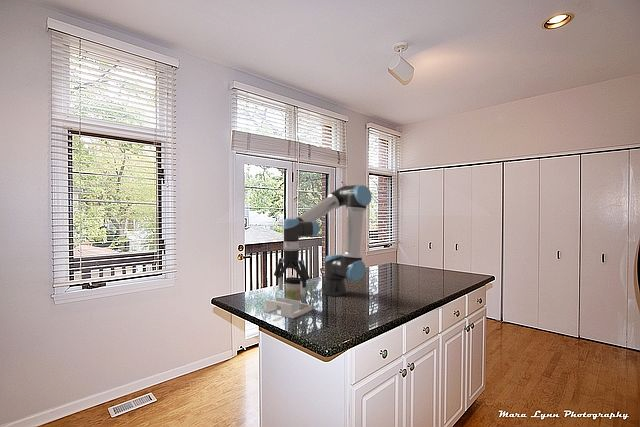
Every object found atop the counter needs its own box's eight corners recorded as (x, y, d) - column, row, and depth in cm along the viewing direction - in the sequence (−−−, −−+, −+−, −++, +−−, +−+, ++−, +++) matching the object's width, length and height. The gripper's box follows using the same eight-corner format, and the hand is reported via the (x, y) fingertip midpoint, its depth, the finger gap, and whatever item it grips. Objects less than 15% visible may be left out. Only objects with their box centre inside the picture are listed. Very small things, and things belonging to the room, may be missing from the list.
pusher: (277, 307, 171) (277, 296, 171) (299, 312, 164) (300, 301, 164) (256, 315, 159) (256, 303, 158) (280, 321, 151) (280, 308, 151)
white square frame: (285, 303, 180) (285, 292, 180) (313, 309, 171) (313, 297, 171) (264, 311, 166) (264, 299, 165) (293, 318, 156) (293, 305, 156)
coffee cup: (280, 306, 174) (282, 276, 174) (299, 306, 177) (301, 277, 178) (285, 311, 164) (287, 280, 165) (304, 310, 168) (306, 280, 168)
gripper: (266, 248, 172) (267, 290, 173) (308, 252, 159) (308, 297, 159) (276, 246, 178) (276, 287, 179) (316, 250, 165) (316, 293, 166)
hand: (291, 292), depth 169 cm, fingers open, 13 cm apart
